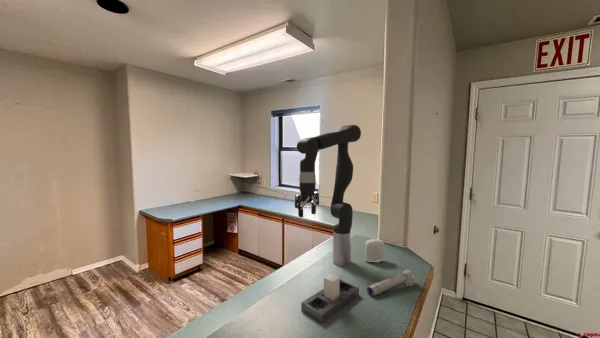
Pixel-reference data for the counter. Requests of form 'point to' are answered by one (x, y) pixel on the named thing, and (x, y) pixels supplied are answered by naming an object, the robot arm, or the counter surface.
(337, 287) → the peg
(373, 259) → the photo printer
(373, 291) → the grey knobbed rod
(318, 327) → the counter surface
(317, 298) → the grey holed base
